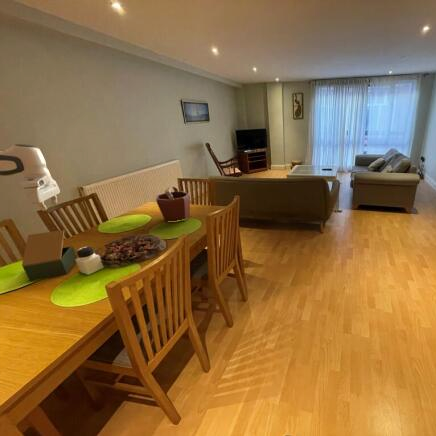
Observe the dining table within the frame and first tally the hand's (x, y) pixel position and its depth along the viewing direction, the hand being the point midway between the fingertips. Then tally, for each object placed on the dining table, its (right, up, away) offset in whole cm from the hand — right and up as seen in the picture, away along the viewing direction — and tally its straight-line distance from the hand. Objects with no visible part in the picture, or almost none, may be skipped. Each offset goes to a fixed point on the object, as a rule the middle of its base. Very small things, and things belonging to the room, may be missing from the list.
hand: (50, 207), depth 119 cm
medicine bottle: (+20, -31, +1) cm, 38 cm away
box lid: (+2, -20, -4) cm, 20 cm away
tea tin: (+1, -31, +1) cm, 31 cm away
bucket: (+33, -6, +63) cm, 71 cm away
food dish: (+30, -25, +17) cm, 42 cm away
